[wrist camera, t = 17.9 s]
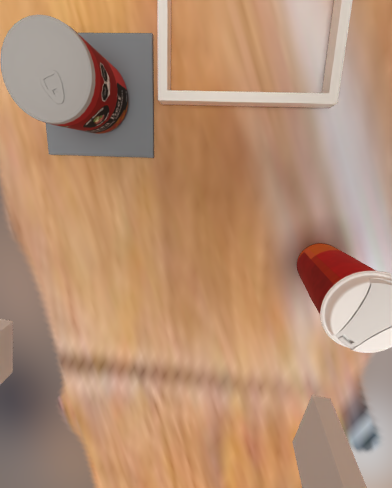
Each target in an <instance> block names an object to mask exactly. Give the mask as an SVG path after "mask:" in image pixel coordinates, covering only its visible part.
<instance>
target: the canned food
mask: <svg viewBox="0 0 392 488" xmlns="http://www.w3.org/2000/svg"><path fill="white" fill-rule="evenodd" d="M1 71H2V75H3V80H4V83H5V85H6V87H7V90H8V92H9V93H10V95H11V97H12V98H13V100H14V101H15V102H16V104H17V105H18V106H19V107H20V108H21V109H22V110H23V111H24V112H26V113H27V114H28V115H30V116H32V117H33V118H35V119H37V120H39V121H42V122H45V123H48V124H52V125H56V126H61V127H66V128H71V129H76V130H80V131H85V132H90V133H97V134H100V133H106V132H109V131H111V130H113V129H115V128H116V127H117V126H118V125H119V124H120V123H121V122H122V120H123V119H124V117H125V115H126V112H127V108H128V93H127V88H126V85H125V82H124V80H123V78H122V76H121V74H120V73H119V72H118V70H117V69H116V68H115V67H114V66H113V65H111V64H110V63H109V62H108V61H107V60H106V59H105V58H104V57H103V56H102V55H101V54H100V53H98V52H97V51H96V50H95V49H94V48H93V47H92V46H91V45H90V44H89V43H88V42H87V41H85V40H84V39H83V38H82V37H81V36H80V35H79V34H78V33H77V32H75V31H74V30H73V29H72V28H71V27H69V26H68V25H66V24H65V23H63V22H61V21H60V20H58V19H56V18H53V17H50V16H46V15H32V16H28V17H26V18H23V19H21V20H20V21H18V22H17V23H16V24H14V26H13V27H12V28H11V29H10V30H9V32H8V33H7V35H6V37H5V39H4V42H3V46H2V49H1Z"/></svg>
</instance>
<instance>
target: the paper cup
mask: <svg viewBox="0 0 392 488" xmlns="http://www.w3.org/2000/svg"><path fill="white" fill-rule="evenodd" d="M297 270H298V273H299V275H300V277H301V279H302V281H303V283H304V285H305V287H306V289H307V291H308V293H309V296H310V298H311V299H312V301H313V303H314V305H315V306H316V308H317V310H318V312H319V313H320V318H321V323H322V326H323V328H324V330H325V332H326V333H327V335H328V336H329V337H330V338H331V339H332V340H334V341H335V342H336V343H338V344H340V345H342V346H345V347H348V348H350V349H351V350H354V351H357V352H363V353H373V352H379V351H383V350H386V349H388V348H390V347H392V274H391V273H387V272H379V271H375V270H374V269H372V268H370V267H368V266H367V265H365V264H363V263H361V262H360V261H358V260H356V259H354V258H353V257H351V256H349V255H347V254H346V253H344V252H342V251H340V250H338V249H337V248H335V247H333V246H330V245H328V244H322V243H319V244H313V245H311V246H309V247H307V248H306V249H304V250H303V251H302V252H301V254H300V255H299V257H298V260H297Z"/></svg>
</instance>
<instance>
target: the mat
mask: <svg viewBox="0 0 392 488" xmlns="http://www.w3.org/2000/svg"><path fill="white" fill-rule="evenodd" d="M78 34H79V35H80V36H81V37H82V38H83V39H84V40H85V41H87V42H88V43H89V44H90V45H91V46H92V47H93V48H94V49H95V50H96V51H97V52H98V53H100V54H101V55H102V56H103V57H104V58H105V59H106V60H107V61H108V62H109V63H110V64H111V65H113V66H114V67H115V68H116V69H117V70H118V72H119V73H120V74H121V76H122V78H123V80H124V82H125V85H126V88H127V93H128V108H127V112H126V115H125V117H124V119H123V120H122V122H121V123H120V124H119V125H118V126H117V127H116V128H115V129H113V130H111V131H109V132H106V133H100V134H97V133H90V132H85V131H80V130H76V129H71V128H66V127H61V126H56V125H52V124H48V123H46V130H47V140H48V150H49V154H52V155H83V156H115V157H147V158H154V91H153V34H152V33H78Z"/></svg>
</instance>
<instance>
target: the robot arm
mask: <svg viewBox="0 0 392 488" xmlns="http://www.w3.org/2000/svg"><path fill="white" fill-rule="evenodd" d="M12 372H13V322H12V321H8V320H4V319H0V384H1V383H2V382H3V381H4V380H5V379H6V378H7V377H8V376H9V375H10V374H11V373H12ZM293 446H294V451H295V456H296V460H297V465H298V470H299V474H300V479H301V484H302V488H367V487H366V485H365V483H364V480H363V477H362V475H361V472H360V470H359V468H358V465H357V463H356V460H355V458H354V455H353V453H352V450H351V448H350V445H349V443H348V440H347V438H346V435H345V433H344V431H343V428H342V426H341V423H340V421H339V418H338V416H337V413H336V411H335V408H334V406H333V403H332V401H331V399H329V398H325V397H321V396H317V395H312V397H311V399H310V401H309V404H308V406H307V409H306V411H305V413H304V416H303V418H302V421H301V423H300V426H299V428H298V430H297V433H296V435H295V438H294V440H293Z"/></svg>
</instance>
